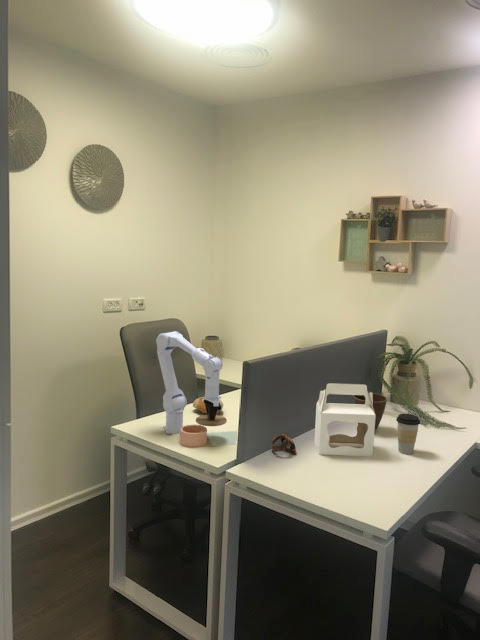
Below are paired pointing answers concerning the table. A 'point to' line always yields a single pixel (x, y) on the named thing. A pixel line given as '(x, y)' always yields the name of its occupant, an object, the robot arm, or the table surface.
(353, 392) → the gable box
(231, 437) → the rubber mat
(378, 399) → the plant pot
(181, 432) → the terracotta bowl
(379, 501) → the table surface
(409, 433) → the coffee cup
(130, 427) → the table surface
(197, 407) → the nautilus
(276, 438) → the brown openwork dome
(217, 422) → the walnut lid
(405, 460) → the table surface
